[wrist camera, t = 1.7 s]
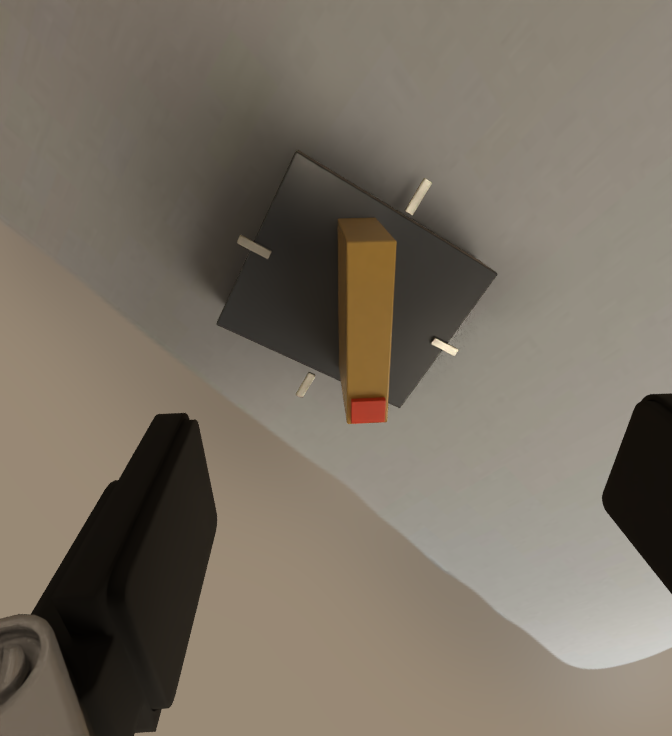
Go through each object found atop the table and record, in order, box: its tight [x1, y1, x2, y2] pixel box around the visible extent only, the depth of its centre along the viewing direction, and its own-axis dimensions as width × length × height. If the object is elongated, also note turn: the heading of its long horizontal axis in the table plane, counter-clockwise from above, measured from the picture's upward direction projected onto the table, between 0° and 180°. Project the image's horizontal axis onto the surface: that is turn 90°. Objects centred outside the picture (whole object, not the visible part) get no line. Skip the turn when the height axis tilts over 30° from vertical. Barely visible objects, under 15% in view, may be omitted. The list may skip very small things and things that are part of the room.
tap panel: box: [217, 150, 497, 408], centre depth 20 cm, size 11×11×3 cm
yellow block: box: [337, 218, 397, 424], centre depth 17 cm, size 7×2×5 cm, turn 1°
